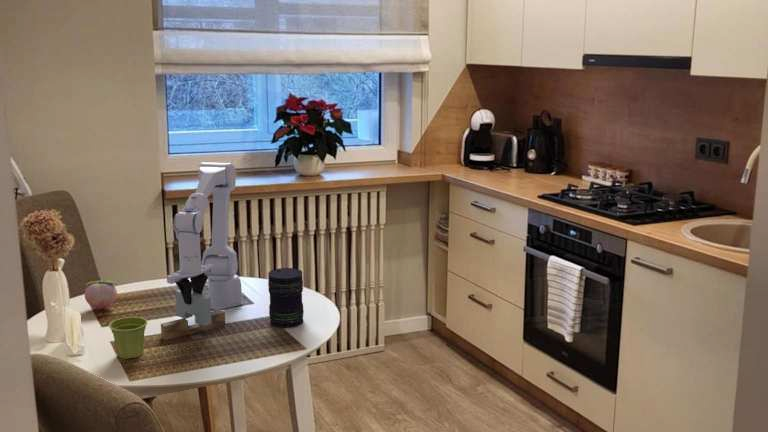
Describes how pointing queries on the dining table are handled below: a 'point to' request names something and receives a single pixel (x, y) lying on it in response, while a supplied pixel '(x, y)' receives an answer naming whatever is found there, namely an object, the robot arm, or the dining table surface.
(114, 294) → the decorative fruit
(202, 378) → the dining table surface
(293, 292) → the camera lens
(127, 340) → the plant pot
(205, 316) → the crosspiece
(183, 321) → the base rail
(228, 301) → the robot arm
